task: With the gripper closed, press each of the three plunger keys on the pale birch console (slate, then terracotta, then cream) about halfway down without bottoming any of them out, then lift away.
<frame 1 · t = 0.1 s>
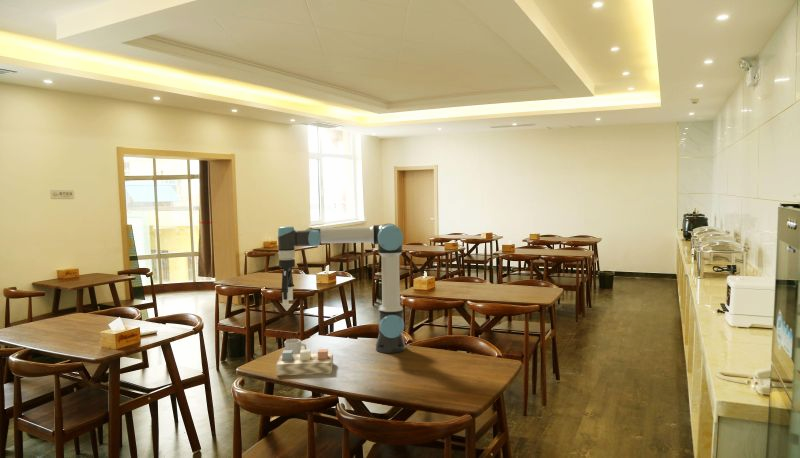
hand: (288, 303, 249), 28 cm above the table, fingers open, 13 cm apart
cup: (295, 357, 256), on the table
console: (305, 369, 238), on the table
key cream: (305, 356, 238), point 6 cm above the table, slide at 0.0 cm
key slate: (287, 356, 237), point 6 cm above the table, slide at 0.0 cm
key terracotta: (323, 355, 238), point 6 cm above the table, slide at 0.0 cm
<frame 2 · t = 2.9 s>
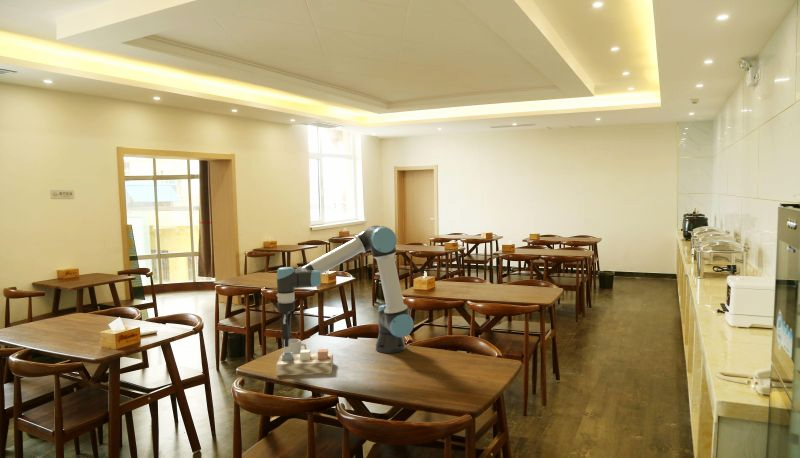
hand: (287, 352, 237), 8 cm above the table, fingers closed
key slate: (287, 358, 237), point 5 cm above the table, slide at 0.9 cm, touching gripper
everything else where it was.
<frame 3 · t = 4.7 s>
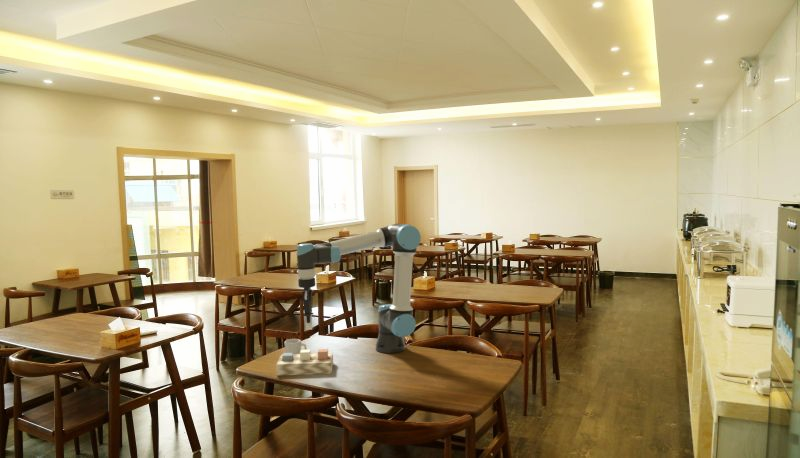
hand: (309, 329, 237), 18 cm above the table, fingers closed
key slate: (287, 359, 237), point 5 cm above the table, slide at 1.2 cm
everything else where it was.
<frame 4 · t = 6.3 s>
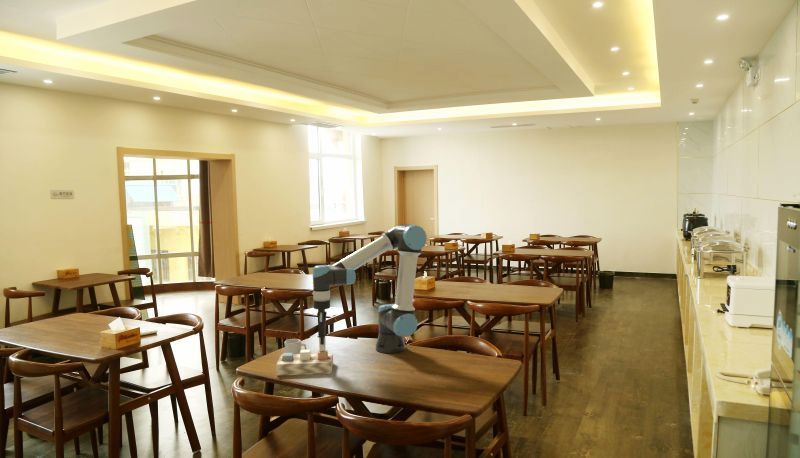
hand: (322, 350, 238), 8 cm above the table, fingers closed
key terracotta: (323, 356, 238), point 6 cm above the table, slide at 0.4 cm, touching gripper
everything else where it was.
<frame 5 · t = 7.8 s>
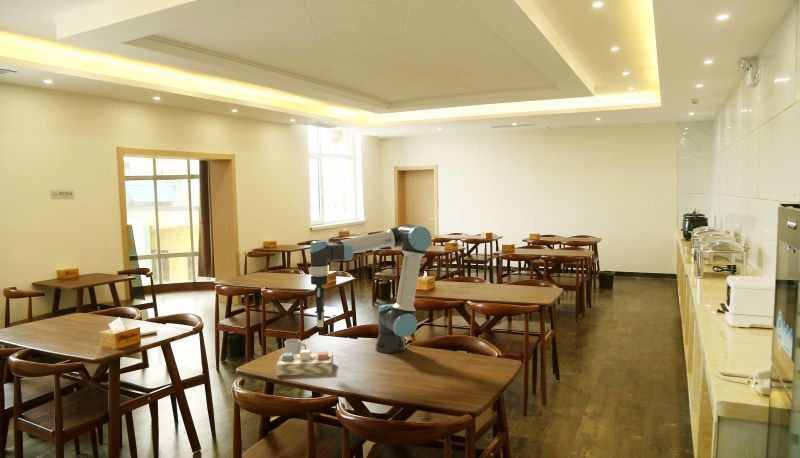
hand: (320, 326, 237), 20 cm above the table, fingers closed
key terracotta: (323, 358, 238), point 5 cm above the table, slide at 1.3 cm
everything else where it was.
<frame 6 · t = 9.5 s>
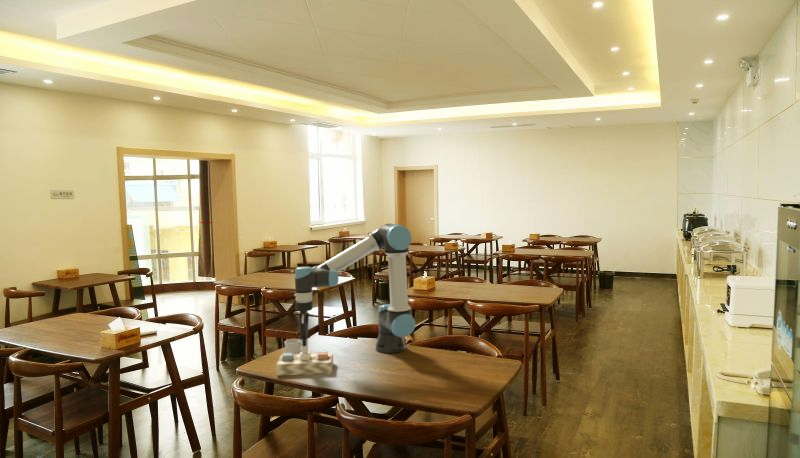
hand: (304, 352, 237), 8 cm above the table, fingers closed
key cream: (305, 358, 238), point 5 cm above the table, slide at 0.9 cm, touching gripper
everything else where it was.
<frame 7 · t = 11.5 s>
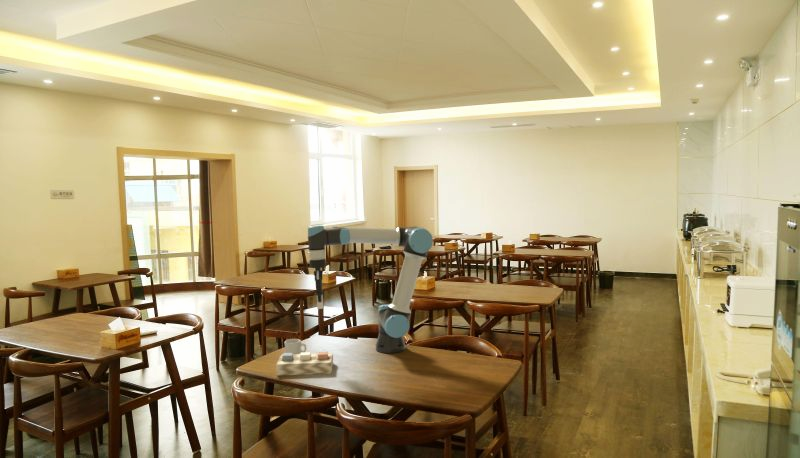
hand: (320, 308, 246), 26 cm above the table, fingers closed
key cream: (305, 358, 238), point 5 cm above the table, slide at 1.2 cm
everything else where it was.
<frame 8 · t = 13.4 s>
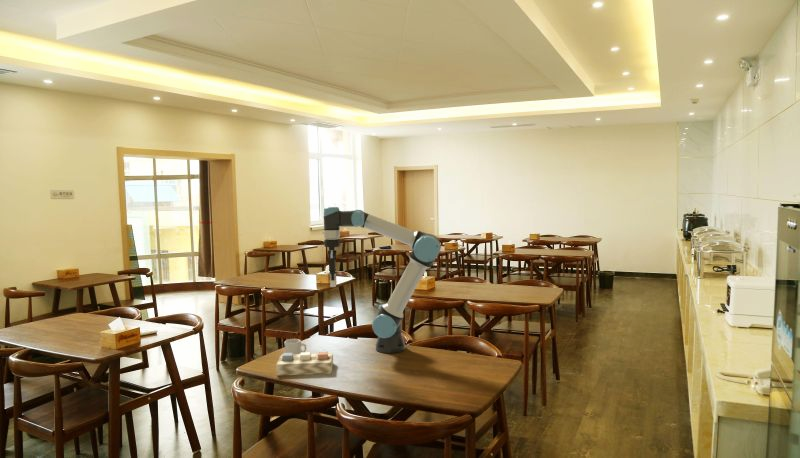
hand: (333, 286, 255), 34 cm above the table, fingers closed
nothing on the table moved.
at the end: key slate slide at 1.2 cm; key terracotta slide at 1.3 cm; key cream slide at 1.2 cm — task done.
